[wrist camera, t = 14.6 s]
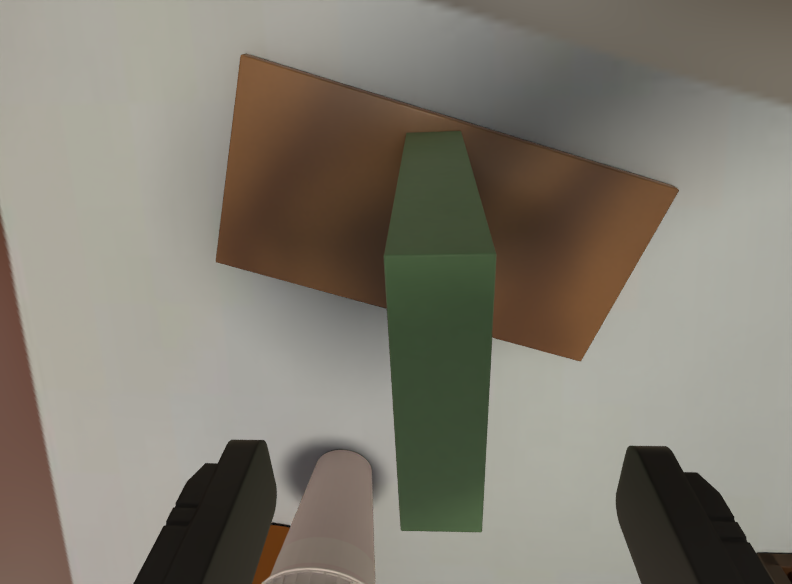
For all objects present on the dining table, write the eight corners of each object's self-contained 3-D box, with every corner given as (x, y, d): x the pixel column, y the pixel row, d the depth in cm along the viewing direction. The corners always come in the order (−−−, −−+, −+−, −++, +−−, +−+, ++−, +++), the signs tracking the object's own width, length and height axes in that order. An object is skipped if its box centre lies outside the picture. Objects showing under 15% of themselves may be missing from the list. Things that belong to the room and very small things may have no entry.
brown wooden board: (674, 185, 23) (680, 189, 23) (578, 355, 28) (580, 362, 28) (244, 53, 22) (240, 53, 21) (219, 257, 26) (215, 262, 26)
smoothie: (376, 513, 35) (349, 779, 23) (286, 489, 35) (208, 751, 22) (405, 449, 32) (391, 717, 20) (306, 422, 32) (229, 682, 19)
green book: (461, 130, 22) (497, 253, 11) (458, 309, 26) (481, 533, 15) (406, 132, 22) (383, 255, 11) (412, 309, 27) (400, 531, 15)
